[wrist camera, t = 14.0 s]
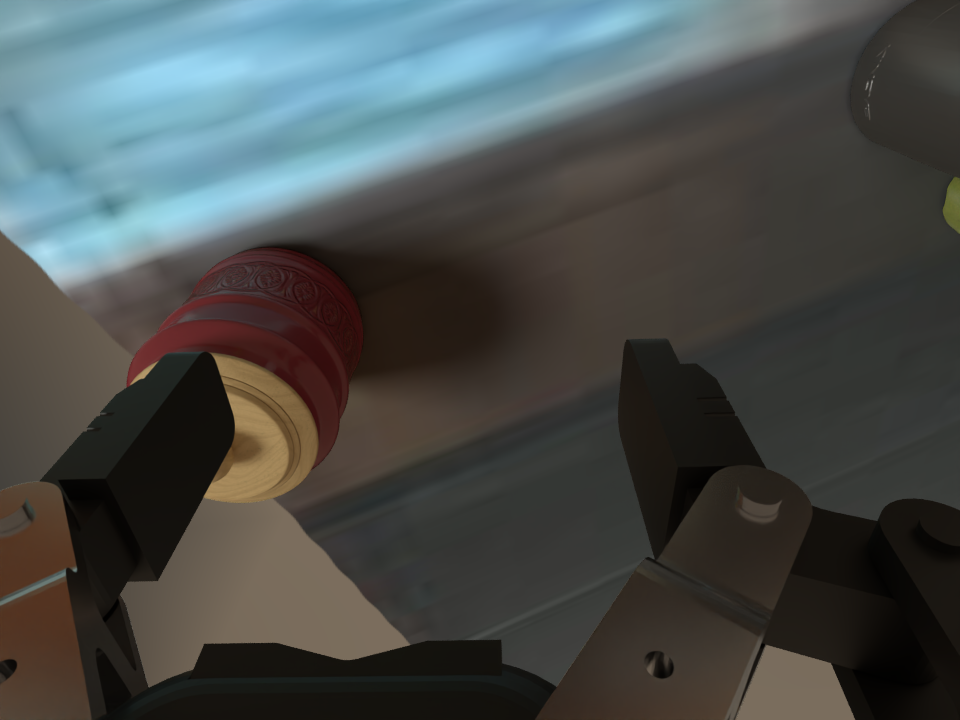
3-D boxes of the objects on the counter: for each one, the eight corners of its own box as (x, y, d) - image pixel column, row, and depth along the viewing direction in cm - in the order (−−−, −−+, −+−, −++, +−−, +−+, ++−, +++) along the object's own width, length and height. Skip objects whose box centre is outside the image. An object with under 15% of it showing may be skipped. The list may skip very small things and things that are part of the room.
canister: (364, 248, 45) (311, 384, 30) (368, 391, 52) (327, 559, 37) (184, 236, 44) (39, 369, 29) (213, 383, 51) (107, 551, 36)
